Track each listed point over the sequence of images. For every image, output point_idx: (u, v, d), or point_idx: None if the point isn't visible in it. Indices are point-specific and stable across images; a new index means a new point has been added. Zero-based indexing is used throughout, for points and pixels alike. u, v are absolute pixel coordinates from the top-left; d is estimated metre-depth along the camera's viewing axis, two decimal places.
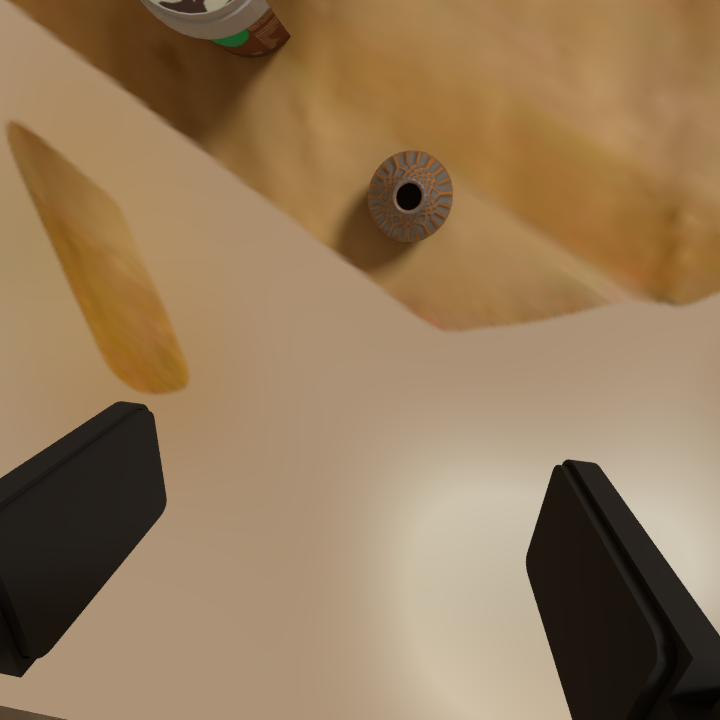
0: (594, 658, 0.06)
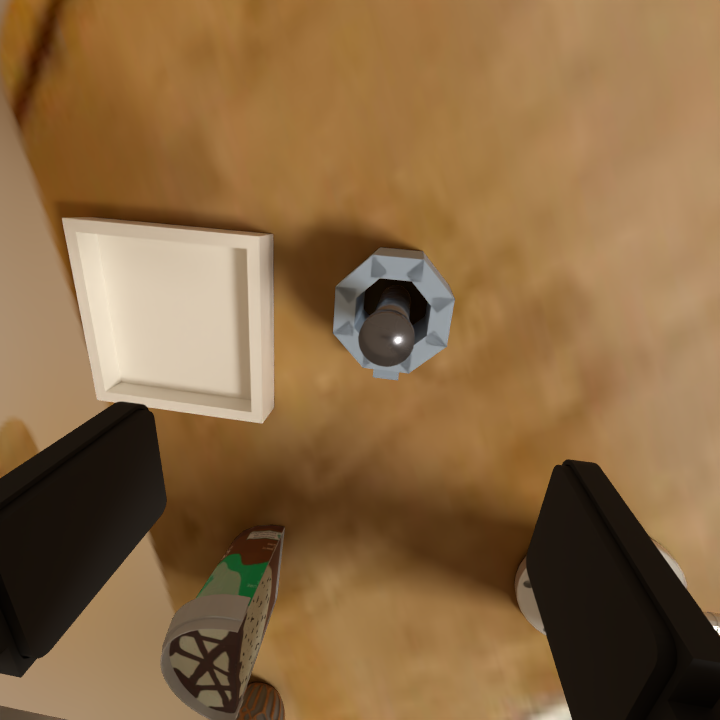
0: (594, 658, 0.06)
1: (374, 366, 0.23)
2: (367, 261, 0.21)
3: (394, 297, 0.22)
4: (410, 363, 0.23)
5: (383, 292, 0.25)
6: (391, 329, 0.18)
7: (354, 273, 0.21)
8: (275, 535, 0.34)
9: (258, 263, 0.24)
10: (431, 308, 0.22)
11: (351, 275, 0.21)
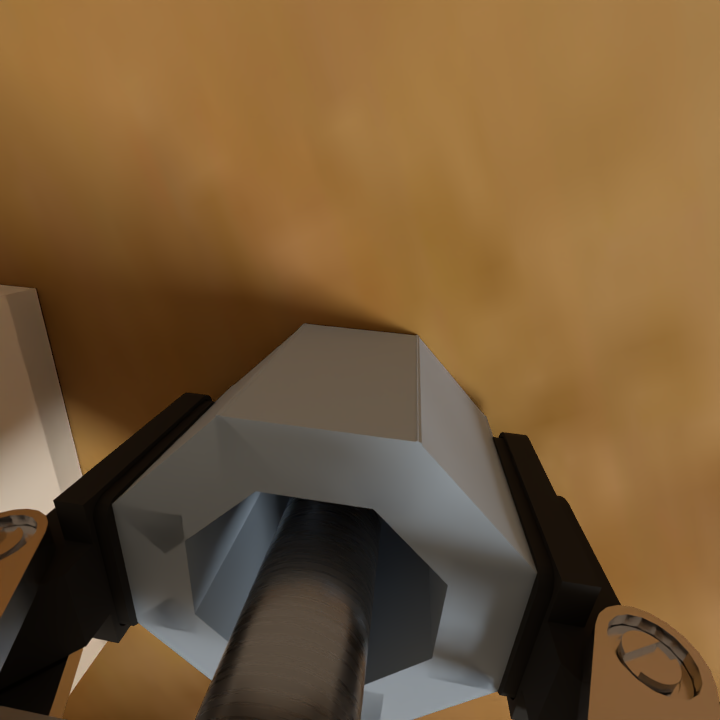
0: None
1: None
2: (201, 437, 0.05)
3: (322, 528, 0.07)
4: (381, 712, 0.07)
5: None
6: None
7: (163, 471, 0.06)
8: None
9: None
10: (448, 588, 0.06)
11: (153, 477, 0.06)
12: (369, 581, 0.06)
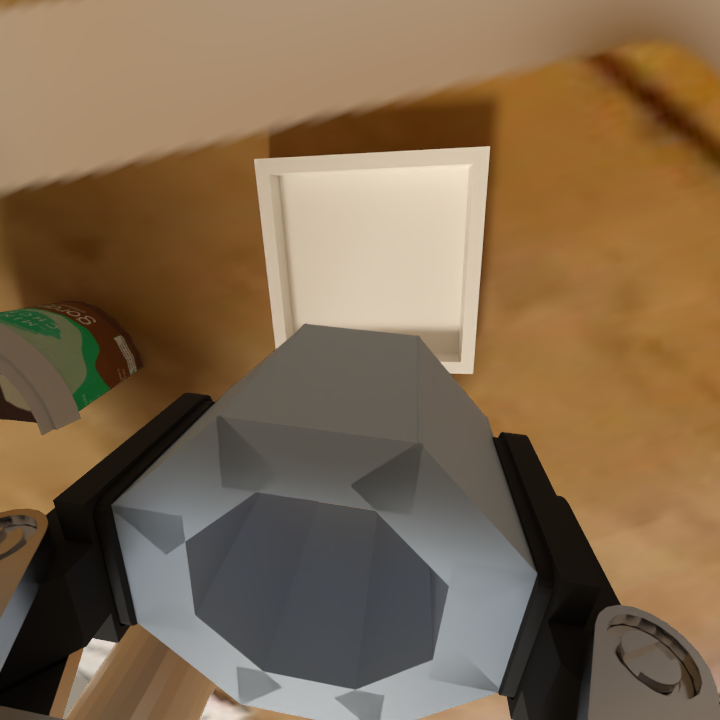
0: None
1: (273, 705, 0.08)
2: (201, 437, 0.05)
3: None
4: (381, 713, 0.07)
5: None
6: None
7: (163, 471, 0.06)
8: (132, 367, 0.29)
9: None
10: (449, 589, 0.06)
11: (154, 477, 0.06)
12: None
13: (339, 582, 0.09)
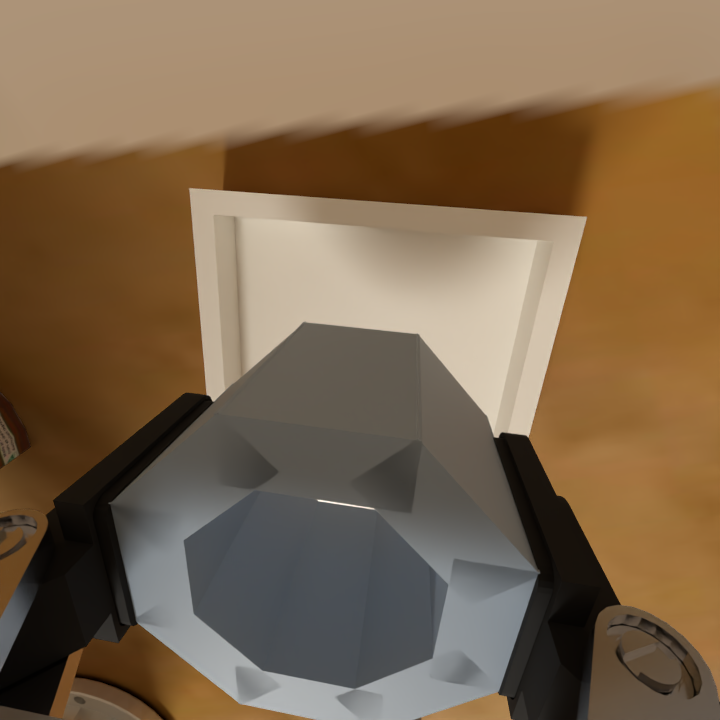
0: None
1: (273, 705, 0.08)
2: (199, 435, 0.05)
3: None
4: (381, 713, 0.07)
5: None
6: None
7: (162, 469, 0.06)
8: (9, 453, 0.20)
9: None
10: (449, 587, 0.06)
11: (152, 475, 0.06)
12: None
13: (339, 581, 0.09)
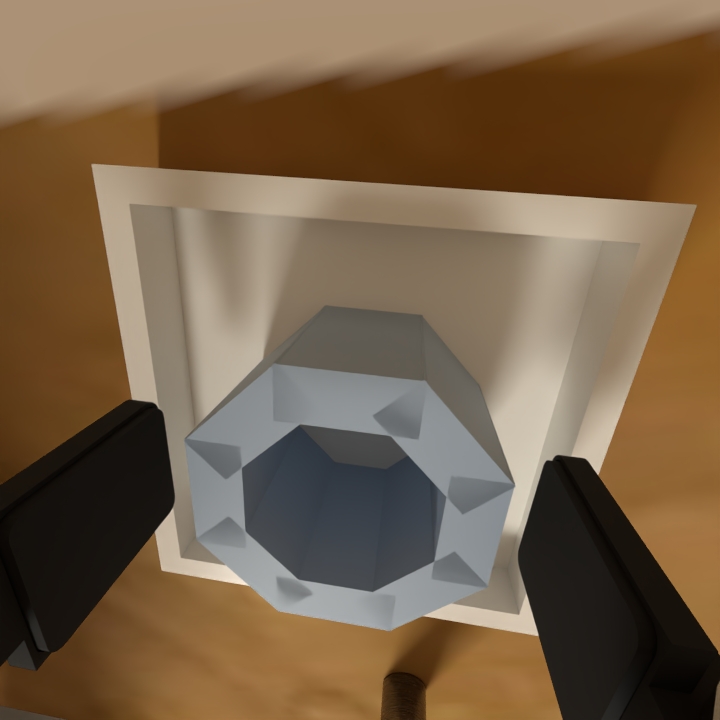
0: (580, 648, 0.06)
1: (305, 611, 0.09)
2: (260, 381, 0.07)
3: None
4: (393, 613, 0.09)
5: (418, 699, 0.17)
6: None
7: (229, 409, 0.08)
8: None
9: (488, 625, 0.13)
10: (447, 500, 0.08)
11: (221, 414, 0.08)
12: None
13: (356, 520, 0.11)
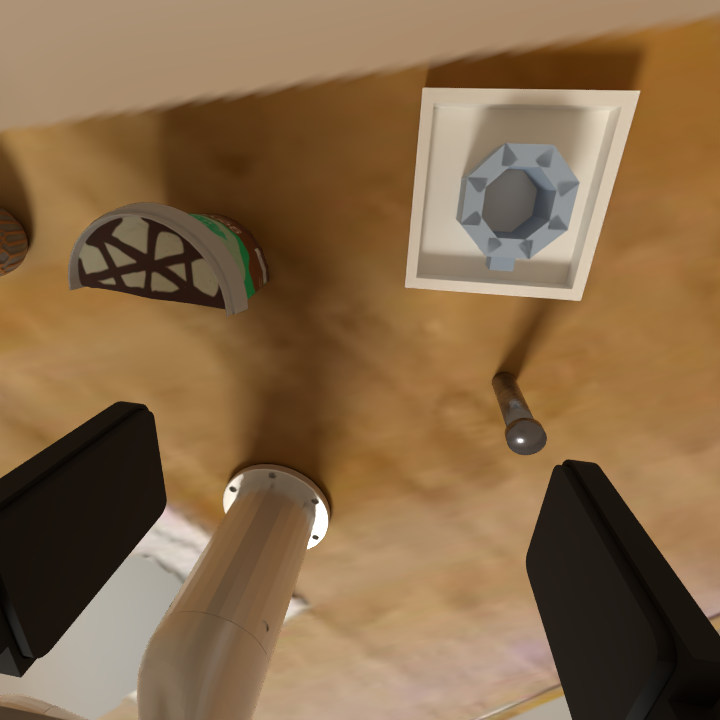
0: (595, 659, 0.06)
1: (497, 254, 0.26)
2: (500, 150, 0.23)
3: None
4: (531, 249, 0.25)
5: (514, 378, 0.34)
6: (534, 443, 0.27)
7: (486, 163, 0.24)
8: (264, 278, 0.33)
9: (558, 298, 0.29)
10: (556, 193, 0.24)
11: (483, 165, 0.24)
12: None
13: (508, 235, 0.27)
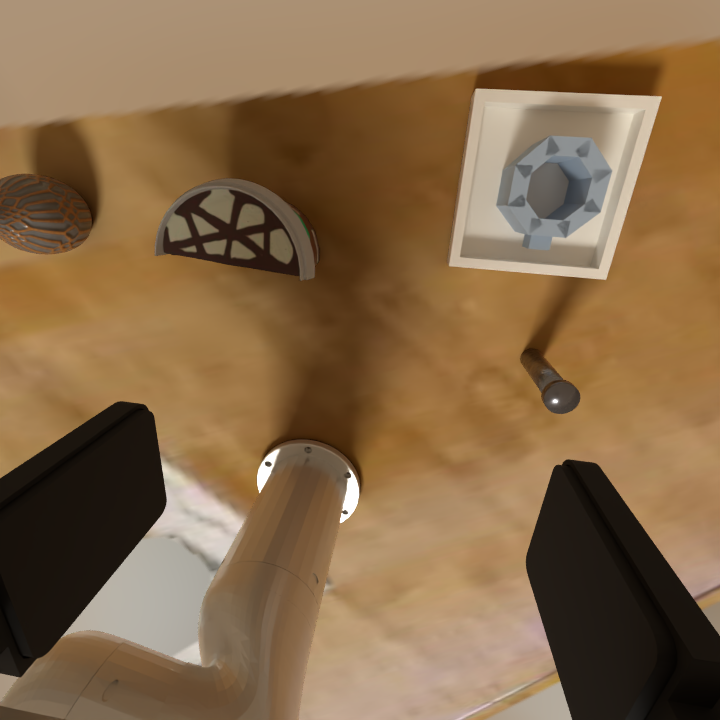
0: (594, 659, 0.06)
1: (538, 233, 0.29)
2: (545, 141, 0.27)
3: None
4: (568, 228, 0.29)
5: (541, 354, 0.37)
6: (569, 402, 0.30)
7: (532, 152, 0.27)
8: (317, 257, 0.36)
9: (586, 277, 0.33)
10: (591, 179, 0.28)
11: (530, 154, 0.28)
12: None
13: None
